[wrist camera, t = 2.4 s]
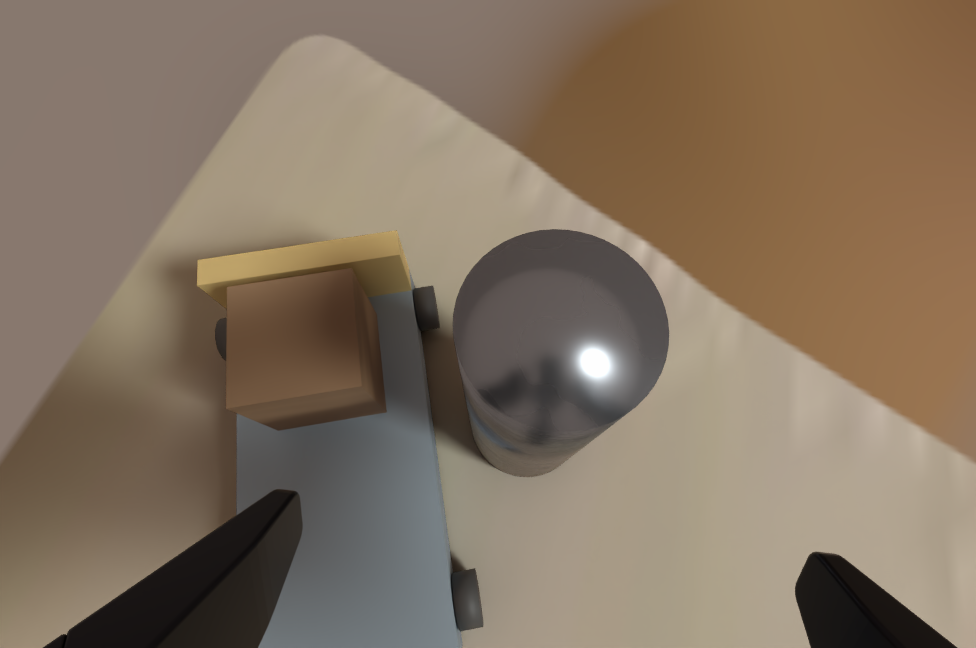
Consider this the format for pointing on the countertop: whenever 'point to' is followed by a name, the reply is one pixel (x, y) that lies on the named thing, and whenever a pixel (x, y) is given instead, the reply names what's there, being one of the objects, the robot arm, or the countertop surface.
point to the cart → (358, 474)
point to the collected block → (303, 351)
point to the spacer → (555, 346)
